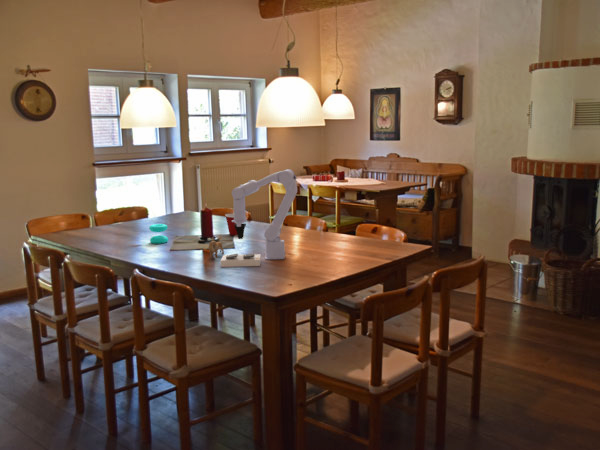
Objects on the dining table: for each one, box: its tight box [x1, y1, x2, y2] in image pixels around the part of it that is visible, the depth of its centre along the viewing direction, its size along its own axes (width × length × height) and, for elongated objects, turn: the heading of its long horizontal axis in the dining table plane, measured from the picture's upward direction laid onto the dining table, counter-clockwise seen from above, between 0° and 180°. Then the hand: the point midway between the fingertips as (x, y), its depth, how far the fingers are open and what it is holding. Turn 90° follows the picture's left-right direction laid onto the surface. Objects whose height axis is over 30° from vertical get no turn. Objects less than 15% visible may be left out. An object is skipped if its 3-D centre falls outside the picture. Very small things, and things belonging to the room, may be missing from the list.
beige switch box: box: [220, 253, 262, 268], centre depth 269 cm, size 18×11×3 cm, turn 91°
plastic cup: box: [224, 213, 238, 236], centre depth 341 cm, size 11×11×12 cm
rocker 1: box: [226, 253, 239, 259], centre depth 266 cm, size 5×4×2 cm
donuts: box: [149, 223, 169, 245], centre depth 321 cm, size 10×10×10 cm
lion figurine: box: [208, 240, 225, 259], centre depth 284 cm, size 15×5×9 cm, turn 174°
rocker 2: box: [243, 252, 255, 259], centre depth 266 cm, size 5×4×2 cm
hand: (240, 238), depth 280 cm, fingers closed
